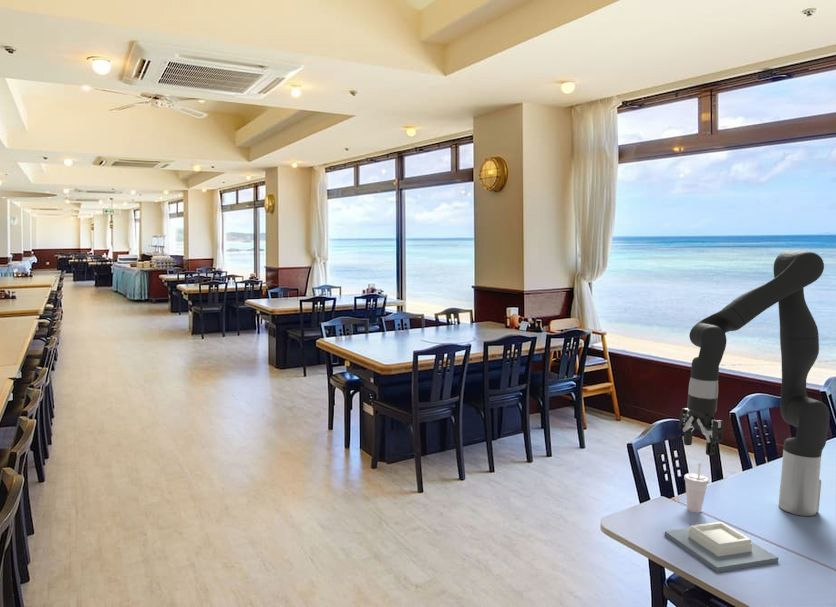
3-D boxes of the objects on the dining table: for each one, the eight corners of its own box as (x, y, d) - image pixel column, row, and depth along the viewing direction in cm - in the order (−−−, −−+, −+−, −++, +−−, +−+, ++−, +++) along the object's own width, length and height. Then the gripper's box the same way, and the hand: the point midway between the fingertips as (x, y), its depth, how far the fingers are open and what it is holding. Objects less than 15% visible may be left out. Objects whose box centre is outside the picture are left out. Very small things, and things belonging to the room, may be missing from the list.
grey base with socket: (720, 527, 159) (721, 512, 158) (778, 562, 142) (779, 545, 141) (664, 535, 154) (665, 519, 153) (716, 572, 136) (718, 555, 136)
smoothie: (709, 515, 166) (712, 467, 164) (684, 513, 167) (688, 465, 166) (703, 506, 172) (706, 459, 171) (679, 503, 173) (682, 457, 172)
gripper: (733, 400, 160) (728, 457, 162) (695, 387, 174) (691, 440, 176) (711, 401, 158) (706, 459, 160) (674, 388, 172) (670, 442, 173)
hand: (698, 449), depth 168 cm, fingers open, 8 cm apart
